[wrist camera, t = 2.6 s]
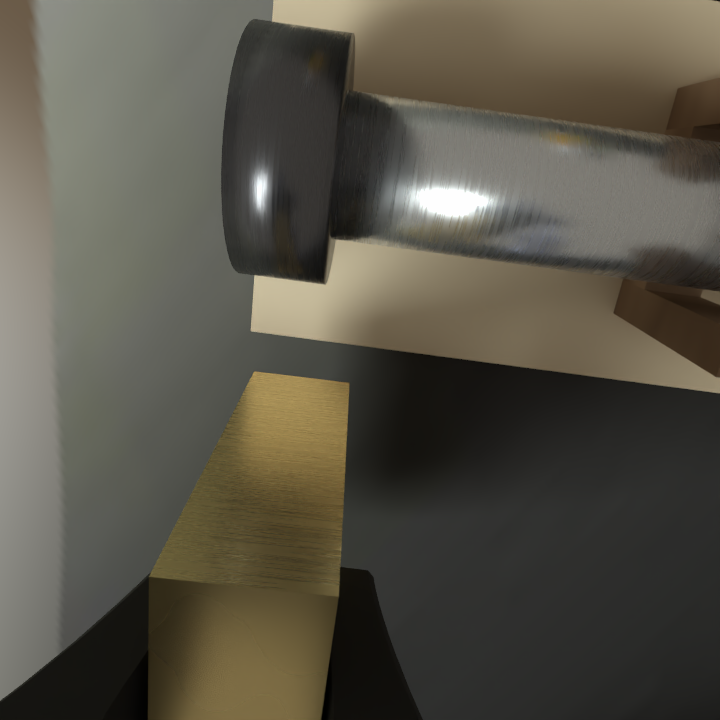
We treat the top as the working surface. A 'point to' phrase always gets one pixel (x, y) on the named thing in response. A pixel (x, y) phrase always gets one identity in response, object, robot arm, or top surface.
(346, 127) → the shaft
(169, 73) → the top surface
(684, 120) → the bearing bed
